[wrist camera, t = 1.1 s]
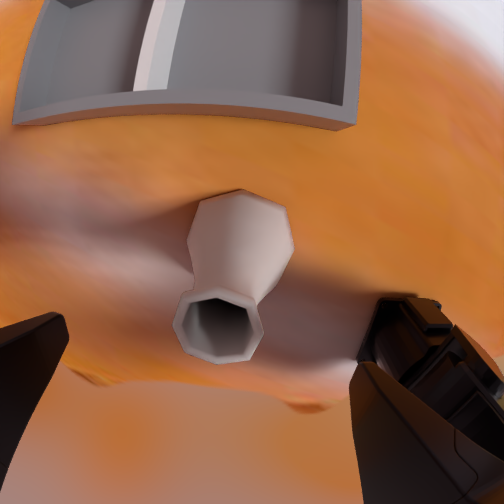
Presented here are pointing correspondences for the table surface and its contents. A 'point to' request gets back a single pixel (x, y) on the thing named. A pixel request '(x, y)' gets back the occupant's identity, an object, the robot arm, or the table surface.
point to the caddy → (193, 60)
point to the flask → (231, 274)
